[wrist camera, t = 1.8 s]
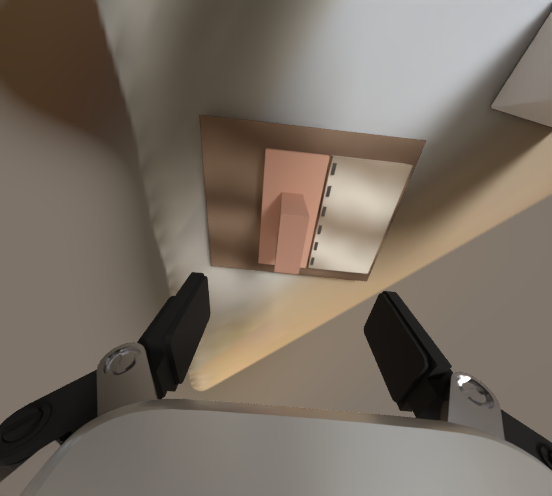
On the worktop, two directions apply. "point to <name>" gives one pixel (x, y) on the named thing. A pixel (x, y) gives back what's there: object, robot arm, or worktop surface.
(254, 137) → the board
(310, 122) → the worktop surface
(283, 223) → the stub
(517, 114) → the milk carton
